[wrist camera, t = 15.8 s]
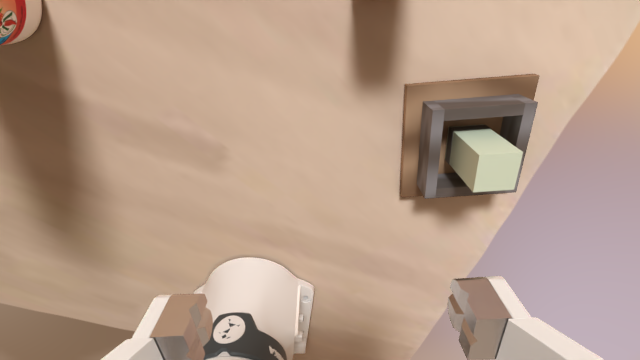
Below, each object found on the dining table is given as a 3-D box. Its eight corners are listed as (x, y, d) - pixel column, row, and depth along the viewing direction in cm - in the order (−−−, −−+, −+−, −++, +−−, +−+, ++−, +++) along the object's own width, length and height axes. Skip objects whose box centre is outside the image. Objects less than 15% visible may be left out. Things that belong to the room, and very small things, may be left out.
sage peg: (484, 123, 37) (523, 151, 30) (478, 156, 39) (514, 190, 32) (448, 126, 37) (478, 154, 30) (444, 159, 39) (472, 192, 32)
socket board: (508, 185, 42) (528, 204, 38) (399, 193, 42) (408, 212, 38) (533, 73, 35) (561, 82, 31) (404, 84, 36) (415, 93, 32)
